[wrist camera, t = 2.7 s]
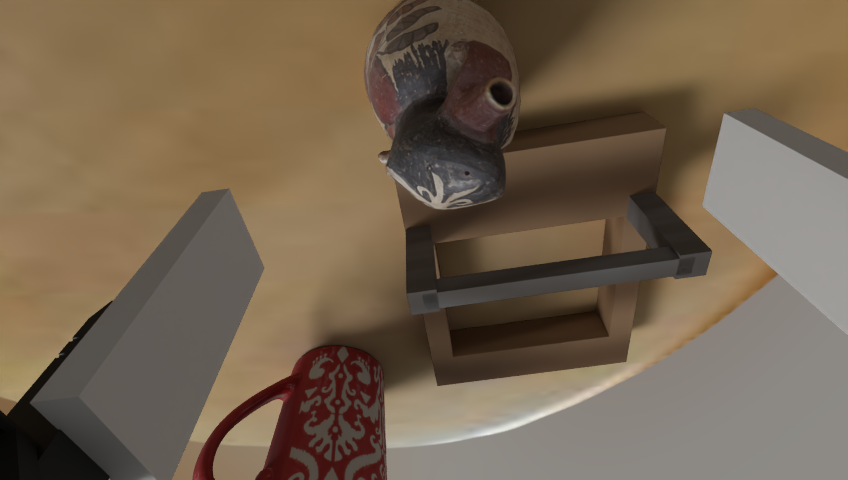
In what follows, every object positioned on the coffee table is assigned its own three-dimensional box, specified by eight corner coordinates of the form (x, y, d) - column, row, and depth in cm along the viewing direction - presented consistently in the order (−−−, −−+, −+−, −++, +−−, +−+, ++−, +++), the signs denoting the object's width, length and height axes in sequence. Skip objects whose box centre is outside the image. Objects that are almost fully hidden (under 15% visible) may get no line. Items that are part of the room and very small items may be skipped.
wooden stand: (393, 150, 25) (390, 228, 18) (644, 111, 24) (734, 177, 18) (435, 359, 35) (443, 457, 29) (612, 336, 34) (662, 431, 28)
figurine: (343, 94, 23) (299, 213, 13) (410, -44, 20) (418, -24, 10) (457, 157, 25) (492, 298, 16) (534, 42, 22) (641, 129, 12)
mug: (419, 368, 36) (426, 563, 25) (353, 421, 39) (333, 610, 28) (282, 294, 31) (213, 498, 20) (220, 362, 34) (134, 565, 23)
